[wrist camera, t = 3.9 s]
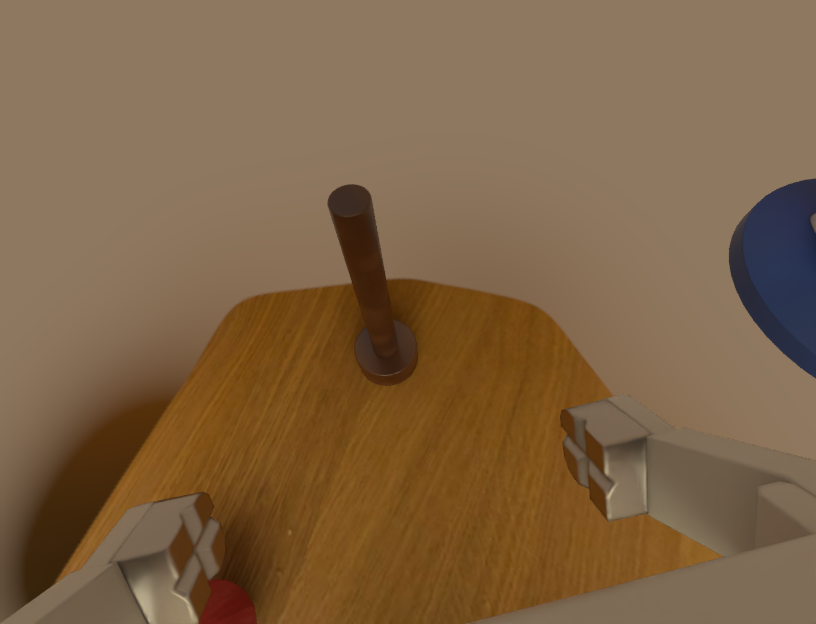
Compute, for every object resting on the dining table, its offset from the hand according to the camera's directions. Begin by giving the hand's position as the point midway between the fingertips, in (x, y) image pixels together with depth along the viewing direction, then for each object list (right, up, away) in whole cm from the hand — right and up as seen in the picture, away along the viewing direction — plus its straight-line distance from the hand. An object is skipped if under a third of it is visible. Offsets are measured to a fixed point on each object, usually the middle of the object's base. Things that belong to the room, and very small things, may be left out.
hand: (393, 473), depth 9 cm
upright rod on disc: (-1, 0, +25) cm, 25 cm away
